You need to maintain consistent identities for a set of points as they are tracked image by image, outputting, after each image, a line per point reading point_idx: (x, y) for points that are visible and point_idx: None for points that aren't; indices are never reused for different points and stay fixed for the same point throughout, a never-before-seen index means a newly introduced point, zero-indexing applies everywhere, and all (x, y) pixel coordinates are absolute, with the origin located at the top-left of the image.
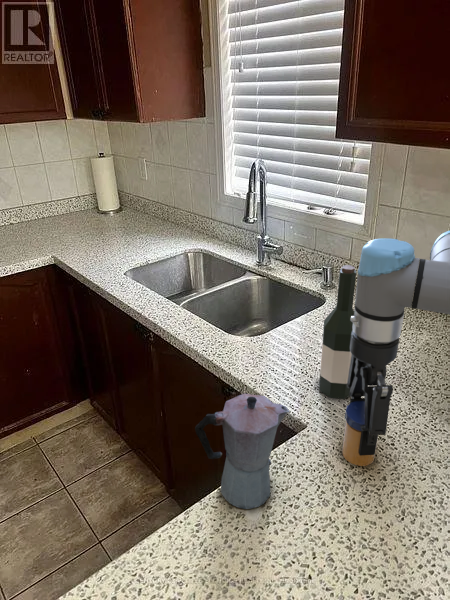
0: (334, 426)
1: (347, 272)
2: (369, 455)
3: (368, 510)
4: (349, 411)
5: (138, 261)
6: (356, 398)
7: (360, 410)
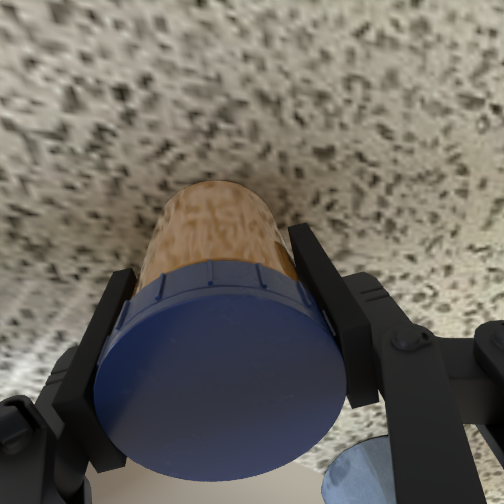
0: (89, 317)
1: None
2: (277, 227)
3: (455, 216)
4: (233, 467)
5: None
6: (81, 445)
7: (208, 419)
